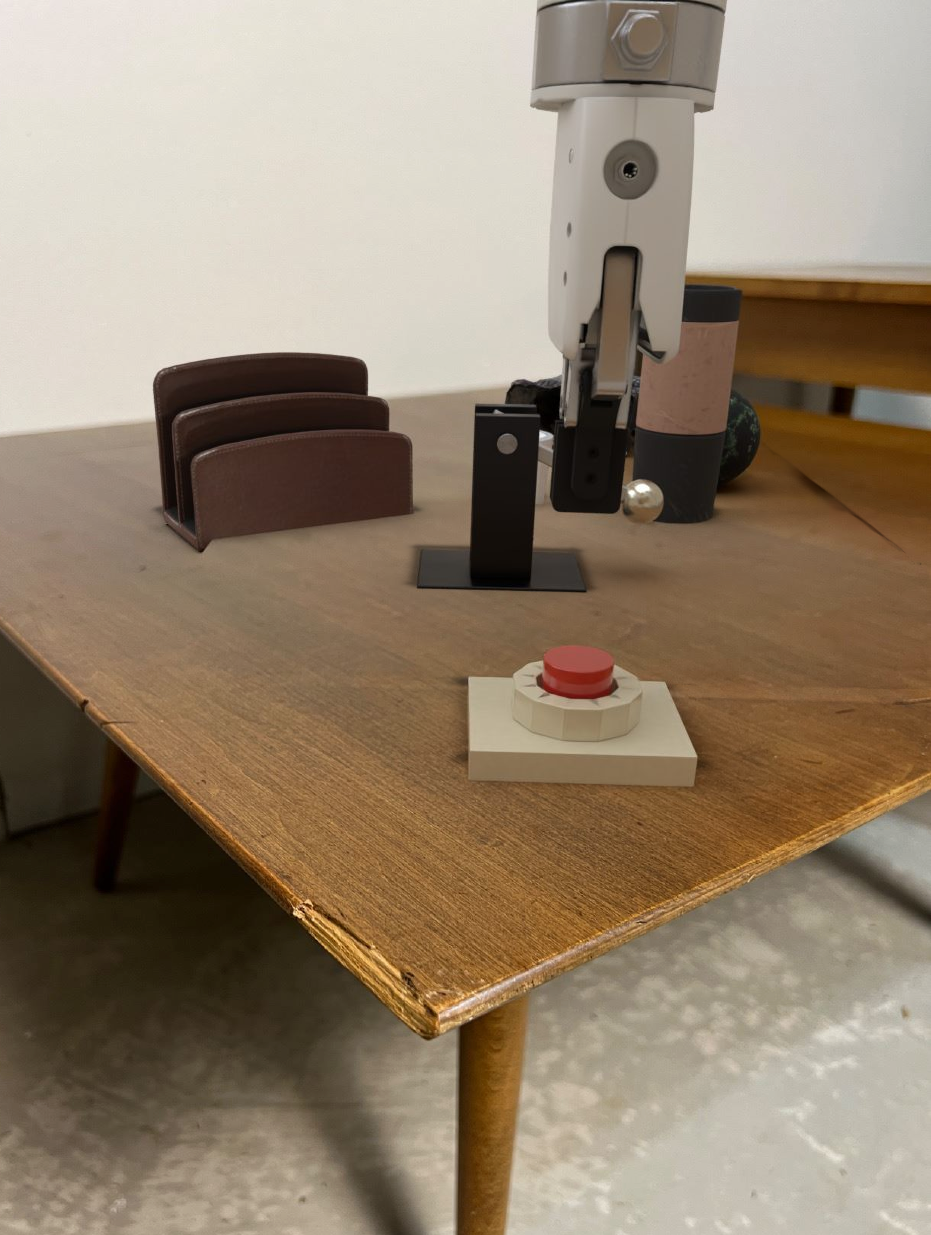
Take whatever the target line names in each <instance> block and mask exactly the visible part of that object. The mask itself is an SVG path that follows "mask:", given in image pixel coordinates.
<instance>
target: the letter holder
mask: <svg viewBox="0 0 931 1235" xmlns="http://www.w3.org/2000/svg"><path fill="white" fill-rule="evenodd" d="M152 381H153V382H152V396H153V405H154V408H153V409H154V417H155V428H156V438H157V447H158V448H157V449H158V461H159V462H158V463H159V474H160V488H161V489H160V490H161V503H162V516H163V518H164V522H165V523H167V524H168V526H169V527H170V528H171V527H172V530H174V531H175V532H176V533H177V534H178V533H179V534H178V535H179V536H181V537H182V539H184V540H185V541H186V542H188V543H189V544H190V545H191V546H192V547H193V548H195V550H197V551H199V552H201V551H205V550H206V549H207V548H208V546H209V545H210V543H211V542H212V541H213V540H218V539H220V540H221V539H226V538H234V537H242V536H249V535H258V534H259V535H260V534H265V533H273V532H283V531H289V530H290V531H291V530H297V529H307V528H313V527H322V526H328V525H329V526H330V525H337V524H338V525H339V524H344V523H345V524H346V523H353V522H360V521H368V520H376V519H384V518H385V519H386V518H392V517H399V516H408V515H413V514H414V512H415V511H414V490H413V489H414V487H413V485H414V484H413V483H414V482H413V481H414V479H413V476H414V475H413V473H414V472H413V471H414V470H413V468H414V467H413V466H414V465H413V459H414V458H413V442H412V440H411V438H410V437H409V436H407V435H406V434H404V433H401V432H397V431H390V406H389V404H388V402H387V401H386V399H385V398H382V397H378V396H374V395H373V396H372V395H369V370H368V366H367V364H366V363H365V361H364V360H363V359H361V358H358V357H355V356H349V355H340V354H332V353H321V352H320V353H319V352H295V351H288V352H287V351H281V352H280V351H279V352H276V351H275V352H259V353H245V354H236V355H228V356H220V357H212V358H207V359H206V358H205V359H200V360H196V361H195V360H194V361H189V362H185V363H180V364H174V365H171V366H167V367H163V368H161V369H160V370H159V371H157V373H156V374H155V376H154V378H153V380H152ZM167 524H166V525H167Z"/></svg>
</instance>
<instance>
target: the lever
mask: <svg viewBox="0 0 931 1235" xmlns="http://www.w3.org/2000/svg"><path fill="white" fill-rule="evenodd" d="M493 414H504V413H502V412H500V411H498V410H494V412H493ZM552 459H553V448H552V449H550V448H548V447H546V446H544V445H542V444H540V443H539V451H538V461H540V462H542V463H544V464H546V465H548V466H549V468H552ZM663 505H664V497H663V494H662V491H661V489H660V488H659V487H658V486H657V485H656V484H655V483H653V482H652V481H649V480H644V479H640V480H635V481H633V482H632V481H631V482H629V483H628V484H627V485H626V484H624V483H623V486H622V495H621V505H620V509H619V511H620V513H621V515H622V517H624V518H625V520H626V521H628V522H630V523H632V524H635V525H646V524H649V523H652V522H654V521H653V520H655V519H656V518H657V517H658V516H659V514H660V513H661V511H662V509H663Z"/></svg>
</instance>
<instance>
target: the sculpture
mask: <svg viewBox="0 0 931 1235" xmlns="http://www.w3.org/2000/svg"><path fill="white" fill-rule="evenodd" d="M640 380H641V376H638V375H633V382H632V390H631V397H630V405H629V413H628V420H627V426H626V427H628V428H629V430H628V439H627V448H626V456H627V455H629V454H630V453H631V451H632V442H633V438H632V437H633V436H632V433H633V431H635V430H636V426H637V425H636V418H637V409H638V399H639V389H640ZM561 383H562V373H561V374H559V375H557V376H554V377H549V378H540V379H539V380H537V381H534V382H533V381H531V380H528V379H525V378H521V379H520V378H519V379H515V380H514V381H511V383H510V387H509V388H508V390H507V391H506V394H505V399H504V400H505V401H504V404H524V405H536V407H537V410H536V414H539V415H540V430H541V431H545V432H548V433H551V434H552V435H553V436H554V434H555V421H556V420H564V419H560V398H561ZM553 447H554V440H553V443H552V449H553Z"/></svg>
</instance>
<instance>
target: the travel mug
mask: <svg viewBox="0 0 931 1235" xmlns="http://www.w3.org/2000/svg"><path fill="white" fill-rule="evenodd" d="M743 292H744V291H743V289H740V288H739V289H738V288H737V287H735V286H730V285H720V284H698V283H695V284H694V283H685V285H684V297H683V309H682V321H681V333H680V343H679V350H678V353H677V354H676V356H675V357H674V358H673V359H672V360H671V361H669V362H668V363H667V364H657V363H655V362H654V361H653V360H651V359H650V358H648V357H647V356H646V355H644V354H643V353H642V361H641V372H640V377H641V380H640V389H639V399H638V409H637V418H636V425H637V426H636V430H634V448H633V462H632V463H633V464H632V479H631V482H633V481H635V480H640V479H644V480H649V481H652V482H653V483H655V484H656V485H657V486H658V487H659V488H660V489H661V491H662V494H663V497H664V505H663V509H662V511H661V513H660V514H659V516H658V517H657V518H656V519H655V520H653V521H652V522H655V523H662V524H678V525H688V524H698V523H704V522H707V521H709V520H711V519H712V518H713V513H714V507H715V501H716V495H717V488H718V486H717V483H718V477H719V471H720V464H721V458H722V452H723V446H724V439H725V433H726V431H725V430H726V426H727V417H728V409H729V400H730V392H731V389H732V383H733V374H734V368H735V367H734V365H735V356H736V351H737V350H736V349H737V341H738V330H739V325H740V324H739V323H740V320H739V319H740V315H741V306H742V300H743V299H742V298H743Z"/></svg>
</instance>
